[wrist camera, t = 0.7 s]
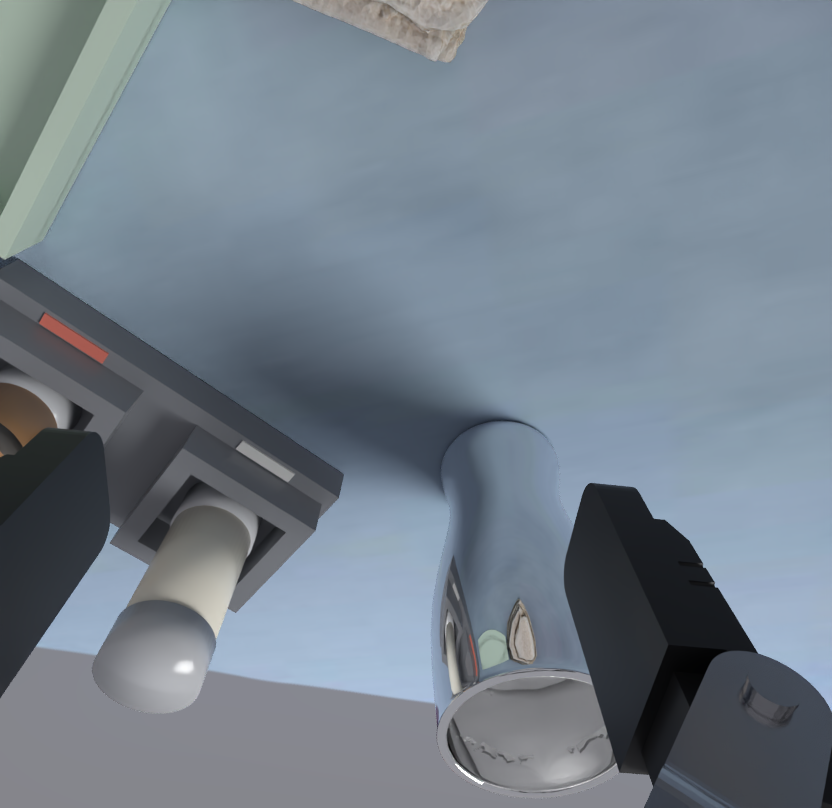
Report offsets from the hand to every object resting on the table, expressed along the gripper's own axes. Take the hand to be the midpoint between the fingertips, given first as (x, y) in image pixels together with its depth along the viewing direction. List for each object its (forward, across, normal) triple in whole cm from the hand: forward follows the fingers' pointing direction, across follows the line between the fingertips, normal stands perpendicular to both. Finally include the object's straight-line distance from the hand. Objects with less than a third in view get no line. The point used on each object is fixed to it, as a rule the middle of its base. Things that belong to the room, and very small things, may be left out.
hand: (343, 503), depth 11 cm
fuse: (+18, +7, +14) cm, 24 cm away
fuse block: (+20, +11, +11) cm, 26 cm away
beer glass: (+20, -7, +11) cm, 24 cm away
